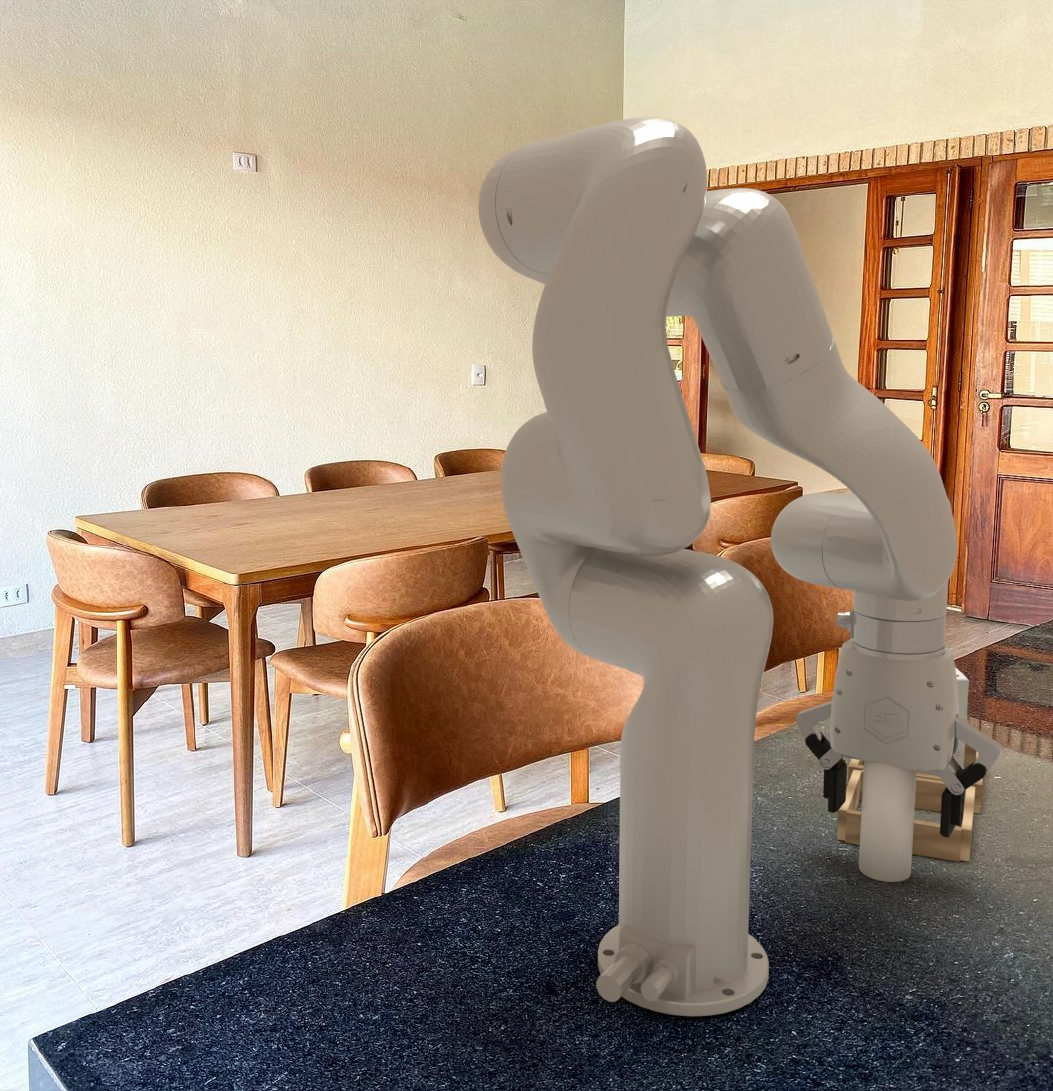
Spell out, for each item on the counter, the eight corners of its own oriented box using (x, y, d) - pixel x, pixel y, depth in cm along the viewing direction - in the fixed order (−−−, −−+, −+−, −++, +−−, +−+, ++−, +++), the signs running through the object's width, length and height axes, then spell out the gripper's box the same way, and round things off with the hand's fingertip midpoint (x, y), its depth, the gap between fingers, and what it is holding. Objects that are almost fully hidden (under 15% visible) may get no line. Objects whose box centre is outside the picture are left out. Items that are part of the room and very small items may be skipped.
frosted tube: (904, 887, 93) (912, 754, 91) (851, 873, 96) (857, 744, 93) (917, 866, 97) (925, 738, 95) (865, 853, 99) (872, 729, 97)
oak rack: (976, 864, 97) (978, 833, 97) (829, 840, 102) (831, 810, 102) (983, 769, 119) (985, 743, 119) (862, 752, 124) (864, 727, 124)
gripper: (785, 629, 94) (781, 813, 97) (999, 656, 85) (987, 859, 88) (813, 610, 100) (809, 784, 103) (1015, 634, 91) (1003, 824, 94)
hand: (890, 818), depth 96 cm, fingers open, 9 cm apart
